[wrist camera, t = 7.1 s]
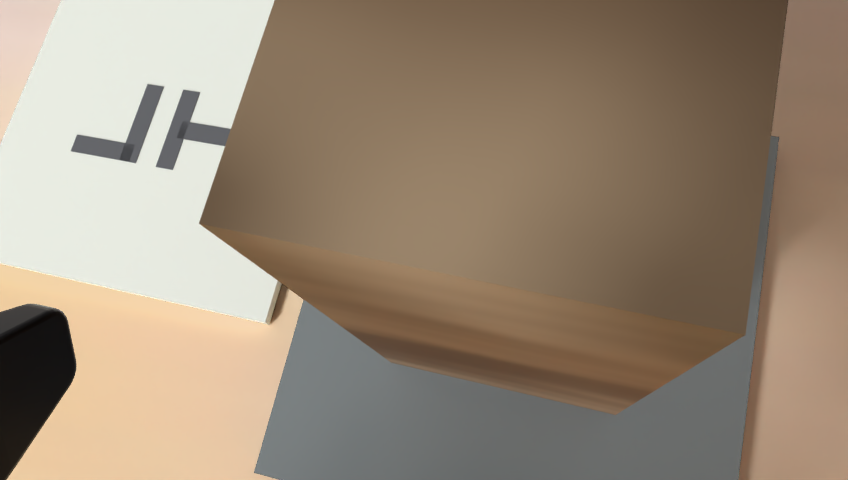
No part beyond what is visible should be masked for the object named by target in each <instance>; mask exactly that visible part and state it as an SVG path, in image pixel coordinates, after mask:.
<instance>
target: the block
mask: <svg viewBox="0 0 848 480" xmlns="http://www.w3.org/2000/svg"><path fill="white" fill-rule="evenodd" d="M787 5H788V0H275V1H274V3H273V6H272V9H271V12H270V15H269V18H268V21H267V24H266V27H265V30H264V33H263V36H262V39H261V42H260V45H259V48H258V51H257V54H256V57H255V59H254V62H253V65H252V68H251V71H250V74H249V77H248V80H247V83H246V86H245V89H244V92H243V95H242V98H241V101H240V104H239V107H238V110H237V112H236V115H235V118H234V121H233V124H232V127H231V130H230V133H229V136H228V139H227V142H226V145H225V148H224V151H223V154H222V157H221V160H220V163H219V165H218V168H217V171H216V174H215V177H214V180H213V183H212V186H211V189H210V192H209V195H208V198H207V201H206V204H205V207H204V210H203V213H202V216H201V218H200V221H199V224H200V225H201V226H203V227H204V228H206V229H207V230H208V231H210V232H211V233H213V234H214V235H215V236H217V237H218V238H219V239H221V240H222V241H224V242H225V243H226V244H228V245H229V246H231V247H232V248H233V249H235V250H236V251H237V252H239V253H240V254H242V255H243V256H244V257H246V258H247V259H248V260H250V261H251V262H253V263H254V264H255V265H257V266H258V267H260V268H261V269H262V270H264V271H265V272H266V273H268V274H269V275H271V276H272V277H273V278H275V279H276V280H278V281H279V282H280V283H282V284H283V285H284V286H286V287H287V288H289V289H290V290H291V291H293V292H294V293H296V294H297V295H298V296H300V297H301V298H302V299H304V300H305V301H307V302H308V303H309V304H311V305H312V306H314V307H315V308H316V309H318V310H319V311H320V312H322V313H323V314H325V315H326V316H327V317H329V318H330V319H332V320H333V321H334V322H336V323H337V324H338V325H340V326H341V327H343V328H344V329H345V330H347V331H348V332H350V333H351V334H352V335H354V336H355V337H356V338H358V339H359V340H361V341H362V342H363V343H365V344H366V345H367V346H369V347H370V348H372V349H373V350H374V351H376V352H377V353H379V354H380V355H381V356H383V357H384V358H385V359H387V360H388V361H390V362H391V363H394V364H399V365H403V366H407V367H412V368H416V369H420V370H424V371H429V372H433V373H437V374H442V375H446V376H450V377H454V378H459V379H463V380H467V381H472V382H476V383H480V384H485V385H489V386H493V387H497V388H502V389H506V390H510V391H515V392H519V393H523V394H527V395H532V396H536V397H540V398H545V399H549V400H553V401H557V402H562V403H566V404H570V405H575V406H579V407H583V408H588V409H592V410H596V411H600V412H605V413H609V414H613V415H616V414H618V413H620V412H621V411H623V410H624V409H626V408H628V407H629V406H631V405H633V404H634V403H636V402H637V401H639V400H641V399H642V398H644V397H646V396H647V395H649V394H650V393H652V392H654V391H655V390H657V389H659V388H660V387H662V386H663V385H665V384H667V383H668V382H670V381H672V380H673V379H675V378H676V377H678V376H680V375H681V374H683V373H684V372H686V371H688V370H689V369H691V368H693V367H694V366H696V365H697V364H699V363H701V362H702V361H704V360H706V359H707V358H709V357H710V356H712V355H714V354H715V353H717V352H719V351H720V350H722V349H723V348H725V347H727V346H728V345H730V344H732V343H733V342H735V341H736V340H738V339H740V338H741V337H743V336H745V335H746V328H747V320H748V312H749V304H750V296H751V288H752V280H753V273H754V265H755V257H756V249H757V241H758V233H759V225H760V218H761V210H762V202H763V194H764V186H765V178H766V170H767V162H768V155H769V147H770V139H771V131H772V123H773V115H774V107H775V100H776V92H777V84H778V76H779V68H780V60H781V52H782V45H783V37H784V29H785V21H786V13H787Z"/></svg>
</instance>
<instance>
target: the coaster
mask: <svg viewBox="0 0 848 480" xmlns="http://www.w3.org/2000/svg"><path fill="white" fill-rule="evenodd" d="M778 142H779V137H775V136H771V139H770V147H769V155H768V162H767V170H766V178H765V186H764V194H763V202H762V210H761V218H760V225H759V233H758V241H757V249H756V257H755V265H754V273H753V280H752V288H751V296H750V304H749V312H748V320H747V328H746V335H745V336H743V337H741V338H740V339H738V340H736V341H735V342H733V343H732V344H730V345H728V346H727V347H725V348H723V349H722V350H720V351H719V352H717V353H715V354H714V355H712V356H710V357H709V358H707V359H706V360H704V361H702V362H701V363H699V364H697V365H696V366H694V367H693V368H691V369H689V370H688V371H686V372H684V373H683V374H681V375H680V376H678V377H676V378H675V379H673V380H672V381H670V382H668V383H667V384H665V385H663V386H662V387H660V388H659V389H657V390H655V391H654V392H652V393H650V394H649V395H647V396H646V397H644V398H642V399H641V400H639V401H637V402H636V403H634V404H633V405H631V406H629V407H628V408H626V409H624V410H623V411H621V412H620V413H618V414H616V415H613V414H609V413H605V412H600V411H596V410H592V409H588V408H583V407H579V406H575V405H570V404H566V403H562V402H557V401H553V400H549V399H545V398H540V397H536V396H532V395H527V394H523V393H519V392H515V391H510V390H506V389H502V388H497V387H493V386H489V385H485V384H480V383H476V382H472V381H467V380H463V379H459V378H454V377H450V376H446V375H442V374H437V373H433V372H429V371H424V370H420V369H416V368H412V367H407V366H403V365H399V364H394V363H391V362H390V361H388V360H387V359H385V358H384V357H383V356H381V355H380V354H379V353H377V352H376V351H374V350H373V349H372V348H370V347H369V346H367V345H366V344H365V343H363V342H362V341H361V340H359V339H358V338H356V337H355V336H354V335H352V334H351V333H350V332H348V331H347V330H345V329H344V328H343V327H341V326H340V325H338V324H337V323H336V322H334V321H333V320H332V319H330V318H329V317H327V316H326V315H325V314H323V313H322V312H320V311H319V310H318V309H316V308H315V307H314V306H312V305H311V304H309V303H308V302H307V301H305V300H303V304H302V307H301V311H300V314H299V318H298V321H297V325H296V328H295V332H294V335H293V339H292V342H291V346H290V349H289V353H288V356H287V360H286V363H285V367H284V370H283V374H282V377H281V381H280V384H279V388H278V391H277V394H276V398H275V401H274V405H273V408H272V412H271V415H270V419H269V422H268V426H267V429H266V433H265V436H264V440H263V443H262V447H261V450H260V454H259V457H258V461H257V464H256V468H255V471H254V473H257V474H261V475H264V476H268V477H272V478H275V479H279V480H738V478H739V470H740V461H741V453H742V445H743V436H744V428H745V419H746V411H747V403H748V394H749V386H750V378H751V369H752V361H753V352H754V344H755V336H756V327H757V319H758V310H759V302H760V294H761V285H762V277H763V268H764V260H765V252H766V243H767V235H768V226H769V218H770V210H771V201H772V193H773V184H774V176H775V168H776V159H777V151H778Z"/></svg>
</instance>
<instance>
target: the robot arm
mask: <svg viewBox="0 0 848 480" xmlns="http://www.w3.org/2000/svg"><path fill="white" fill-rule="evenodd" d="M75 372H76V358H75V353H74V348H73V344H72V339H71V334H70V329H69V324H68V320H67V317H66V316H65V315H64V313H63V312H62V311H60V310H59V309H56V308H51V307H47V306H42V305H38V304H25V305H22V306H18V307H15V308H12V309H9V310H5V311H2V312H0V480H6V479H7V478H8V477H9V475H10V474H11V472H12V471H13V469H14V468H15V467H16V465H17V464H18V462H19V461H20V459H21V458H22V456H23V455H24V453H25V452H26V450H27V449H28V447H29V446H30V444H31V443H32V441H33V440H34V438H35V437H36V435H37V434H38V432H39V431H40V429H41V428H42V426H43V425H44V423H45V422H46V420H47V419H48V417H49V416H50V414H51V413H52V412H53V410H54V409H55V407H56V406H57V404H58V403H59V401H60V400H61V398H62V397H63V395H64V394H65V392H66V391H67V389H68V388H69V386H70V385H71V383H72V381H73V378H74V376H75Z"/></svg>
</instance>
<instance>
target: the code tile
mask: <svg viewBox="0 0 848 480" xmlns="http://www.w3.org/2000/svg"><path fill="white" fill-rule="evenodd" d="M274 1H275V0H61V2H60V4H59V7H58V9H57V11H56V14H55V16H54V19H53V21H52V23H51V26H50V28H49V30H48V33H47V35H46V37H45V40H44V42H43V45H42V47H41V49H40V52H39V54H38V56H37V59H36V61H35V63H34V66H33V68H32V70H31V73H30V75H29V78H28V80H27V82H26V85H25V87H24V89H23V92H22V94H21V96H20V99H19V101H18V104H17V106H16V108H15V111H14V113H13V115H12V118H11V120H10V122H9V125H8V127H7V130H6V132H5V134H4V137H3V139H2V141H1V144H0V264H2V265H7V266H11V267H16V268H20V269H25V270H29V271H33V272H38V273H42V274H47V275H51V276H56V277H60V278H64V279H69V280H73V281H78V282H82V283H87V284H91V285H95V286H100V287H104V288H109V289H113V290H118V291H122V292H126V293H131V294H135V295H140V296H144V297H149V298H153V299H158V300H162V301H166V302H171V303H175V304H180V305H184V306H189V307H193V308H197V309H202V310H206V311H211V312H215V313H220V314H224V315H228V316H233V317H237V318H242V319H246V320H251V321H255V322H259V323H264V324H268V325H269V324H270V321H271V318H272V314H273V311H274V308H275V304H276V301H277V297H278V294H279V291H280V287H281V284H282V283H280V282H279V281H278V280H276V279H275V278H273V277H272V276H271V275H269V274H268V273H266V272H265V271H264V270H262V269H261V268H260V267H258V266H257V265H255V264H254V263H253V262H251V261H250V260H248V259H247V258H246V257H244V256H243V255H242V254H240V253H239V252H237V251H236V250H235V249H233V248H232V247H231V246H229V245H228V244H226V243H225V242H224V241H222V240H221V239H219V238H218V237H217V236H215V235H214V234H213V233H211V232H210V231H208V230H207V229H206V228H204V227H203V226H201V225H200V224H199V221H200V218H201V216H202V213H203V210H204V207H205V204H206V201H207V198H208V195H209V192H210V189H211V186H212V183H213V180H214V177H215V174H216V171H217V168H218V165H219V163H220V160H221V157H222V154H223V151H224V148H225V145H226V142H227V139H228V136H229V133H230V130H231V127H232V124H233V121H234V118H235V115H236V112H237V110H238V107H239V104H240V101H241V98H242V95H243V92H244V89H245V86H246V83H247V80H248V77H249V74H250V71H251V68H252V65H253V62H254V59H255V57H256V54H257V51H258V48H259V45H260V42H261V39H262V36H263V33H264V30H265V27H266V24H267V21H268V18H269V15H270V12H271V9H272V6H273V3H274Z"/></svg>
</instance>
